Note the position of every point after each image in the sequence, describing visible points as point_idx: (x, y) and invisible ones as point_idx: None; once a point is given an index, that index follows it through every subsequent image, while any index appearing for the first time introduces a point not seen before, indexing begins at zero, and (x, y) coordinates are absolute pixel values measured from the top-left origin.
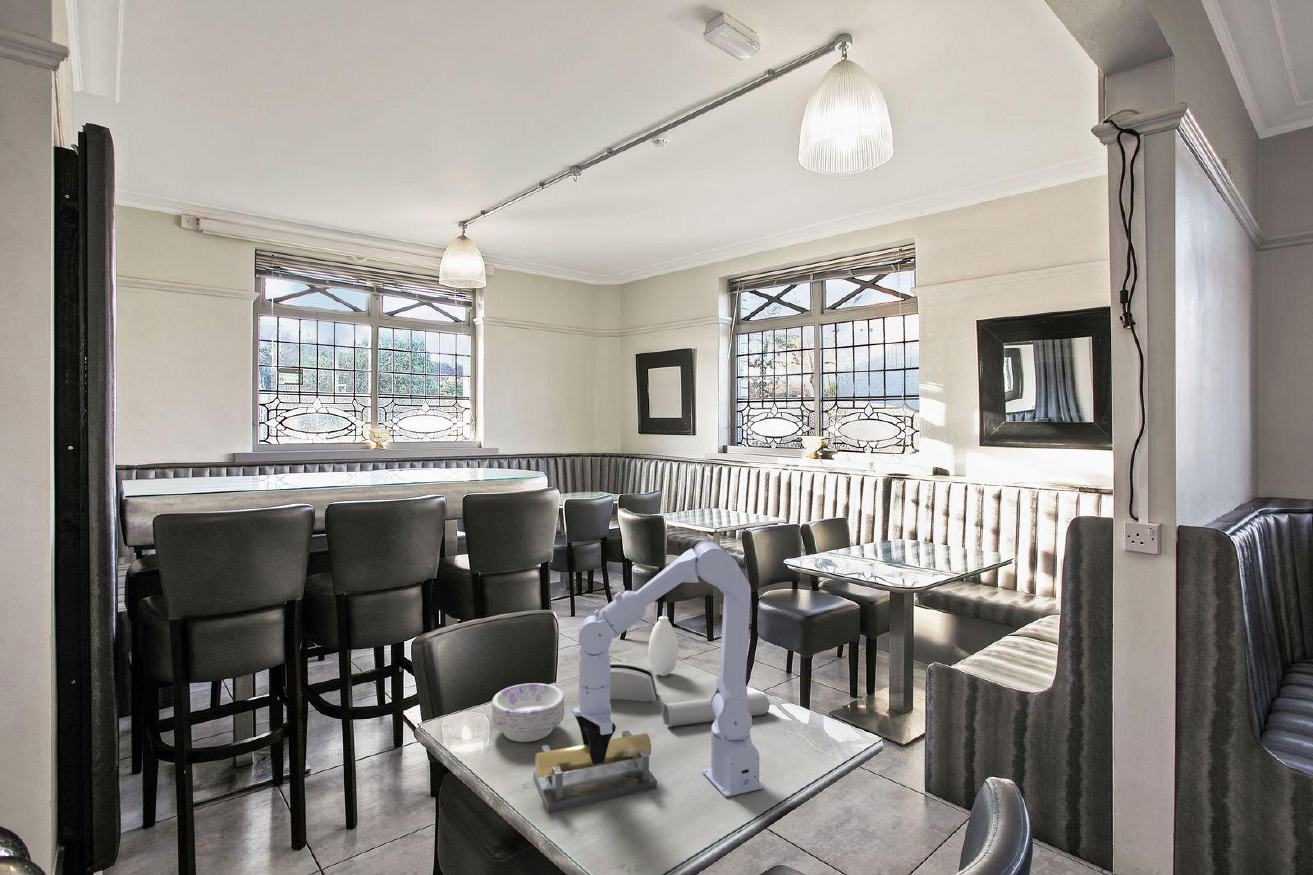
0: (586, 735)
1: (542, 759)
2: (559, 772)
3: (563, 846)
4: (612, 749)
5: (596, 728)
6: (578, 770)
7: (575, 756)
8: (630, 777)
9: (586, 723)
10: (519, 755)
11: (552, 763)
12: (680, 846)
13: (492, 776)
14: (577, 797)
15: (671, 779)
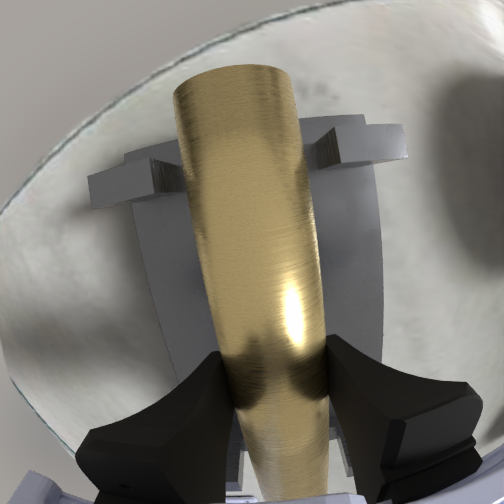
0: (346, 386)
1: (185, 98)
2: (100, 193)
3: (21, 199)
4: (246, 440)
5: (115, 494)
6: (323, 278)
7: (211, 292)
8: (234, 413)
9: (367, 436)
10: (476, 114)
11: (183, 158)
12: (39, 397)
13: (379, 21)
14: (141, 253)
15: (244, 463)
